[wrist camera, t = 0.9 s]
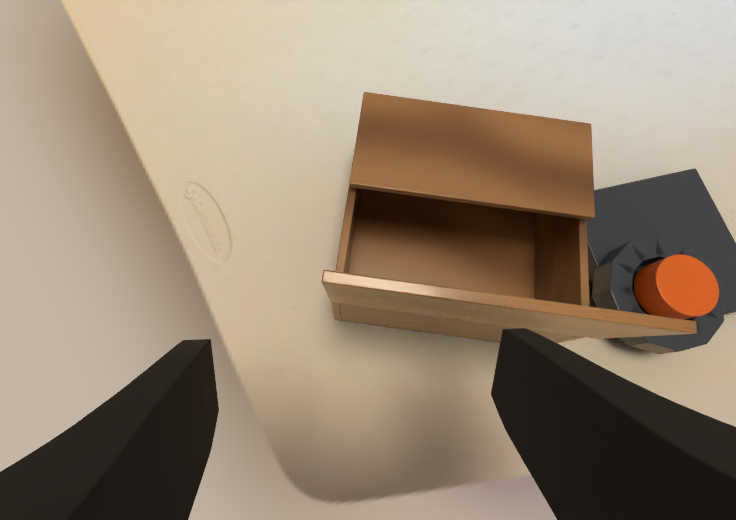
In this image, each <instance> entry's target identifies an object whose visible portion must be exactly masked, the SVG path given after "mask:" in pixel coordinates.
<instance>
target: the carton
mask: <svg viewBox="0 0 736 520" xmlns="http://www.w3.org/2000/svg"><path fill="white" fill-rule="evenodd" d="M593 218H595V206H594V182H593V158H592V134H591V124H589V123H582V122H575V121H567V120H560V119H553V118H546V117H539V116H532V115H525V114H517V113H510V112H503V111H496V110H489V109H482V108H475V107H468V106H460V105H453V104H446V103H439V102H432V101H425V100H418V99H411V98H403V97H396V96H389V95H382V94H375V93H368V92H364V95H363V101H362V107H361V114H360V120H359V126H358V132H357V139H356V145H355V151H354V157H353V164H352V170H351V176H350V182H349V190H348V196H347V202H346V208H345V215H344V221H343V227H342V233H341V240H340V246H339V252H338V258H337V265H336V271H335V272H342V273H350V274H357V275H364V276H371V277H379V278H386V279H393V280H400V281H408V282H415V283H422V284H430V285H437V286H444V287H451V288H459V289H466V290H473V291H480V292H488V293H495V294H502V295H509V296H517V297H524V298H531V299H539V300H546V301H553V302H560V303H568V304H575V305H582V306H589V277H588V248H587V220H592V219H593ZM331 303H332V308H333V313H334V319H335V320H341V321H348V322H355V323H363V324H370V325H377V326H384V327H392V328H399V329H406V330H414V331H421V332H428V333H436V334H443V335H450V336H457V337H465V338H472V339H479V340H487V341H494V342H501V336H502V330H503V329H516V328H517V327H509V326H502V325H495V324H487V323H480V322H473V321H466V320H458V319H451V318H444V317H436V316H429V315H422V314H415V313H407V312H400V311H393V310H385V309H378V308H371V307H364V306H356V305H349V304H342V303H334V302H331ZM589 307H590V306H589ZM528 330H531V329H528ZM531 331H533V332H535V333H538V334H540V335H542V336H544V337H546V338H548V339H550V340H552V341H554V342H555V343H560V342H565V341H569V340H574V339H579V338H583V337H582V336H575V335H568V334H560V333H553V332H546V331H539V330H531Z"/></svg>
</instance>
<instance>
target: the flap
mask: <svg viewBox="0 0 736 520" xmlns="http://www.w3.org/2000/svg"><path fill="white" fill-rule="evenodd" d="M322 283H323V285H324V288H325V290H326V292H327V294H328V297H329V299H330V301H331V302H334V303H342V304H349V305H356V306H364V307H371V308H378V309H385V310H393V311H400V312H407V313H415V314H422V315H429V316H436V317H444V318H451V319H458V320H466V321H473V322H480V323H487V324H495V325H502V326H509V327H517V328H526V329H531V330H539V331H546V332H553V333H560V334H568V335H575V336H582V337H590V338H597V339H602V338H622V337H642V336H662V335H682V334H696V333H697V326H696V321H691V320H684V319H677V318H669V317H662V316H655V315H648V314H640V313H633V312H626V311H618V310H611V309H604V308H597V307H589V306H582V305H575V304H568V303H560V302H553V301H546V300H539V299H531V298H524V297H517V296H509V295H502V294H495V293H488V292H480V291H473V290H466V289H459V288H451V287H444V286H437V285H430V284H422V283H415V282H408V281H400V280H393V279H386V278H379V277H371V276H364V275H357V274H350V273H342V272H335V271H328V270H324V271H323V276H322Z"/></svg>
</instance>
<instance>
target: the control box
mask: <svg viewBox="0 0 736 520" xmlns="http://www.w3.org/2000/svg"><path fill="white" fill-rule="evenodd" d="M594 206H595V218H593V219H592V220H587V248H588V277H589V282H590V284H591V286H592V289H593V290H592V297H593V300H594V302H595V305H596V307H597V308H604V309H611V310H618V311H626V312H633V313H640V314H648V313H647V312H646V311H645V310H644V309H643V308H642V307H641V306H640V304H639V303H638V301H637V299H636V296H635V293H634V280H635V277H636V275H637V273H638V272H639V271H640V270H641V269H642V268H643V267H645V266H647V265H649V264H652V263H654V262H656V261H659V260H661V259H664V258H666V257H669V256H672V255H677V254H681V255H688V256H691V257H694V258H696V259H698V260H700V261H701V262H702V263H704V264H705V265H706V266H707V267H708V268H709V269H710V270H711V272H712V273H713V275H714V276H715V278H716V280H717V283H718V287H719V298H718V302H717V304H716V306H715V307H714V308H713V309H712V310H711V311H710V312H709V313H707V314H705V315H702V316H698V317H693V318H688V319H684V320H691V321H696V326H697V333H696V334H682V335H662V336H642V337H622V338H613V339H614V341H615V342H622V341H623V342H624V343H625V344H627V345H628V346H631V347H635V348H638V349H642V350H645V351H648V352H652V353H655V354H656V353H657V354H660V353H669V352H678V351H683V350H686V349H690V348H694V347H697V346H701V345H705V344H707V343H708V342H709V341H710V339H711V338H712V337H713V335H714V334H715V333H716V331H717V330H718V329H719V327H720V326H721V324H722V323H723V321H724V315H725V314H729V313H733V312H736V243H735V241H734V239H733V237H732V235H731V234H730V232H729V230H728V228H727V226H726V224H725V222H724V221H723V219H722V217H721V215H720V213H719V211H718V209H717V207H716V206H715V204H714V202H713V200H712V198H711V196H710V194H709V192H708V191H707V189H706V187H705V185H704V183H703V181H702V179H701V178H700V176H699V174H698V172H697V170H696V169H690V170H685V171H681V172H676V173H672V174H667V175H662V176H658V177H653V178H649V179H644V180H640V181H635V182H630V183H626V184H621V185H617V186H612V187H608V188H603V189H598V190H594ZM648 315H649V314H648Z"/></svg>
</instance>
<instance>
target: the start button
mask: <svg viewBox="0 0 736 520" xmlns="http://www.w3.org/2000/svg"><path fill="white" fill-rule="evenodd" d="M634 293H635V296H636V299H637V301H638V303H639V304H640V306H641V307H642V308H643V309H644V310H645V311H646V312H647V313H648V314H649V315H655V316H662V317H669V318H677V319H688V318H693V317H698V316H702V315H705V314H707V313H709V312H710V311H711V310H712V309H713V308H714V307H715V306H716V304H717V302H718V298H719V287H718V283H717V280H716V278H715V276H714V275H713V273H712V272H711V270H710V269H709V268H708V267H707V266H706V265H705V264H704V263H702V262H701V261H700V260H698V259H696V258H694V257H691V256H688V255H681V254H677V255H672V256H669V257H666V258H664V259H661V260H659V261H656V262H654V263H652V264H649V265H647V266H645V267H643V268H642V269H641V270H640V271H639V272H638V273H637V275H636V277H635V280H634Z"/></svg>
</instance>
